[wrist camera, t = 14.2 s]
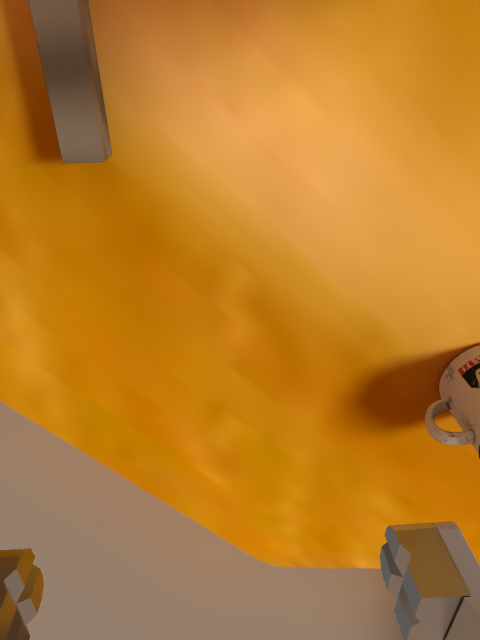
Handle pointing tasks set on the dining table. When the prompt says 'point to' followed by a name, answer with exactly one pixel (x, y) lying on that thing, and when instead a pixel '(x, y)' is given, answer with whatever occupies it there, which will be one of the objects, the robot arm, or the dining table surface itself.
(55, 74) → the turner
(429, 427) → the teacup with lid
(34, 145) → the dining table surface
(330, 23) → the dining table surface
